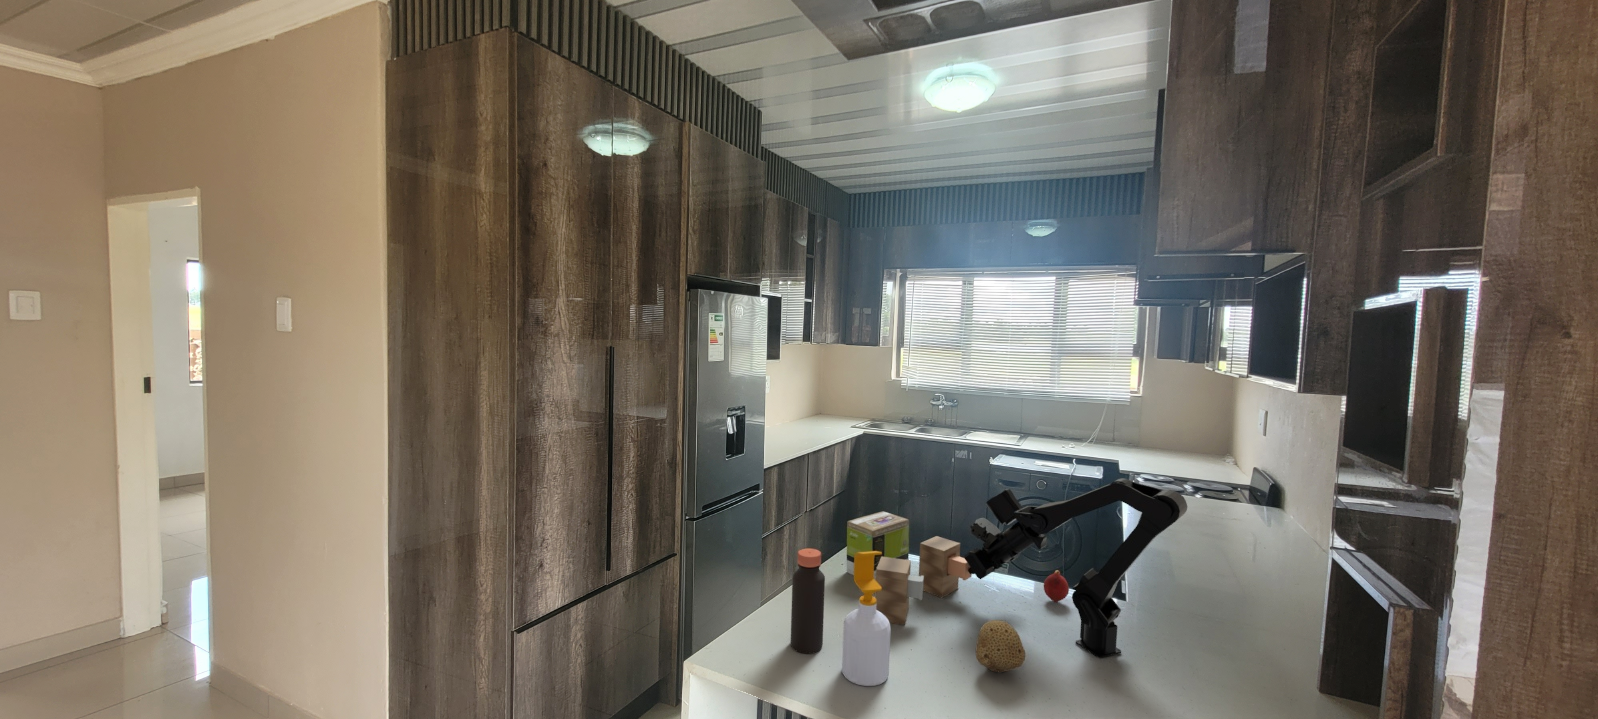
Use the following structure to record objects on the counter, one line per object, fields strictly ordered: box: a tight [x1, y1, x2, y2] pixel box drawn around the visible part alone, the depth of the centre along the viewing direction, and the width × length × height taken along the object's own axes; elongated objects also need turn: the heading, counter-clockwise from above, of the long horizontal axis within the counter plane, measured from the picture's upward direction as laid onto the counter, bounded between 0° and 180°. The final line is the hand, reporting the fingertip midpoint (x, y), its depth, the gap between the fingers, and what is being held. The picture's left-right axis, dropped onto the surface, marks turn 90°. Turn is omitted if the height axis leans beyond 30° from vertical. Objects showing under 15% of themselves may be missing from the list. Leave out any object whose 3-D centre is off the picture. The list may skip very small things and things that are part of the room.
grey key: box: [907, 574, 924, 601], centre depth 139 cm, size 8×3×4 cm, turn 74°
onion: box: [1043, 569, 1070, 603], centre depth 150 cm, size 6×6×8 cm
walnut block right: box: [918, 535, 961, 598], centre depth 155 cm, size 7×8×12 cm
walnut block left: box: [874, 557, 912, 626], centre depth 140 cm, size 7×8×12 cm
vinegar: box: [790, 547, 826, 654], centre depth 125 cm, size 7×7×20 cm
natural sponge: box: [975, 619, 1026, 673], centre depth 118 cm, size 9×9×10 cm
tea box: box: [846, 510, 910, 581], centre depth 165 cm, size 15×10×15 cm, turn 130°
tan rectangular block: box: [947, 554, 973, 581], centre depth 152 cm, size 8×3×4 cm, turn 46°
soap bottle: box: [841, 551, 892, 687], centre depth 116 cm, size 9×9×25 cm
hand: (969, 571), depth 149 cm, fingers closed, pressing on tan rectangular block
